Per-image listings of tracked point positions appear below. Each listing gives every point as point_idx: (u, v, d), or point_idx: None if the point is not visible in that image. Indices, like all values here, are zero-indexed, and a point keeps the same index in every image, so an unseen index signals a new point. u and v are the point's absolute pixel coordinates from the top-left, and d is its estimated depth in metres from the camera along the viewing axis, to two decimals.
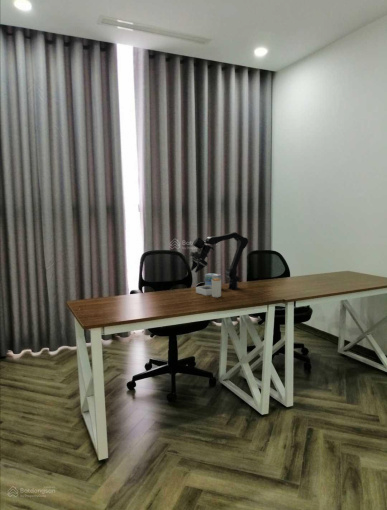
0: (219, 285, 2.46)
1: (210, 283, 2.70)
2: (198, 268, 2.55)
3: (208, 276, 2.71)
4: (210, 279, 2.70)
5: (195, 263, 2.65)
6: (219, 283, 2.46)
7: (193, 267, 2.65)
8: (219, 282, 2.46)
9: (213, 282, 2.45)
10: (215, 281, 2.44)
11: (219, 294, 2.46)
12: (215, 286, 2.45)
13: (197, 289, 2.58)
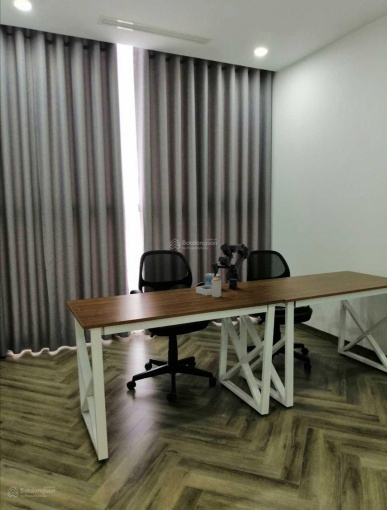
0: (219, 285, 2.46)
1: (210, 283, 2.70)
2: (229, 273, 2.50)
3: (208, 276, 2.71)
4: (210, 279, 2.70)
5: (216, 269, 2.57)
6: (219, 283, 2.46)
7: (215, 273, 2.55)
8: (219, 282, 2.45)
9: (213, 282, 2.45)
10: (215, 281, 2.44)
11: (219, 294, 2.46)
12: (215, 286, 2.45)
13: (197, 289, 2.58)
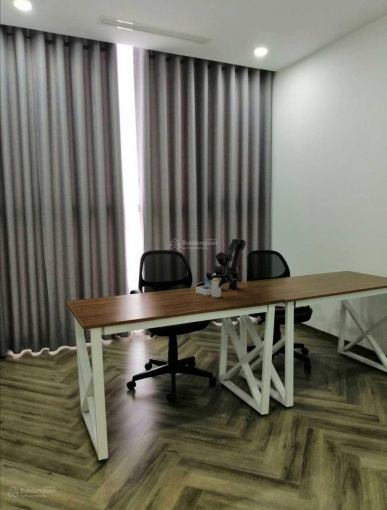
0: None
1: (210, 283, 2.70)
2: (221, 283, 2.46)
3: None
4: None
5: None
6: None
7: None
8: (219, 282, 2.45)
9: (213, 282, 2.45)
10: (215, 281, 2.44)
11: (219, 294, 2.46)
12: (215, 286, 2.45)
13: (197, 289, 2.58)
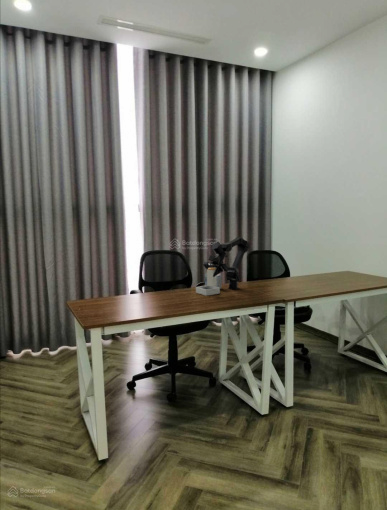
0: None
1: None
2: (216, 272, 2.48)
3: None
4: None
5: None
6: None
7: None
8: (214, 271, 2.48)
9: (208, 271, 2.48)
10: (210, 270, 2.47)
11: (214, 283, 2.49)
12: (210, 275, 2.48)
13: (197, 289, 2.58)
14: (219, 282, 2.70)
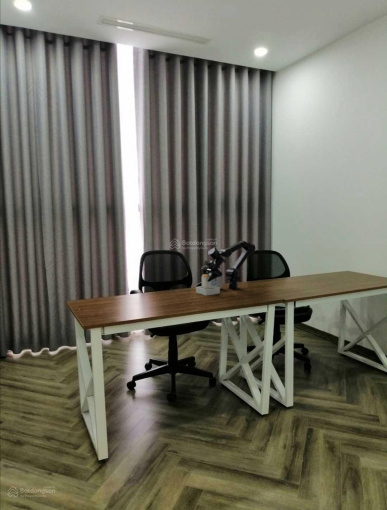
0: None
1: None
2: (211, 278, 2.53)
3: None
4: None
5: (206, 273, 2.61)
6: None
7: None
8: (208, 278, 2.54)
9: (202, 278, 2.56)
10: (203, 277, 2.54)
11: None
12: (204, 282, 2.55)
13: (197, 289, 2.58)
14: (219, 282, 2.70)
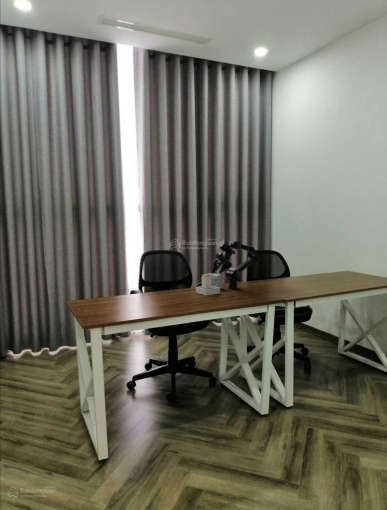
0: (208, 281, 2.55)
1: None
2: (222, 269, 2.57)
3: None
4: None
5: (216, 266, 2.67)
6: (208, 279, 2.55)
7: (214, 270, 2.65)
8: (208, 278, 2.55)
9: (202, 278, 2.56)
10: (204, 277, 2.55)
11: None
12: (204, 282, 2.55)
13: (197, 289, 2.58)
14: (219, 282, 2.70)
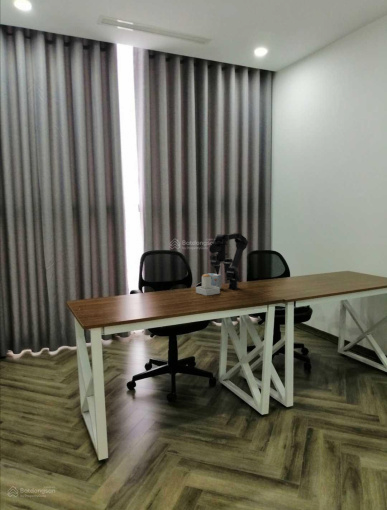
0: (208, 281, 2.55)
1: None
2: (216, 270, 2.56)
3: None
4: None
5: (226, 264, 2.63)
6: (208, 279, 2.55)
7: (225, 269, 2.63)
8: (208, 278, 2.55)
9: (202, 278, 2.56)
10: (204, 277, 2.55)
11: None
12: (204, 282, 2.55)
13: (197, 289, 2.58)
14: (219, 282, 2.70)
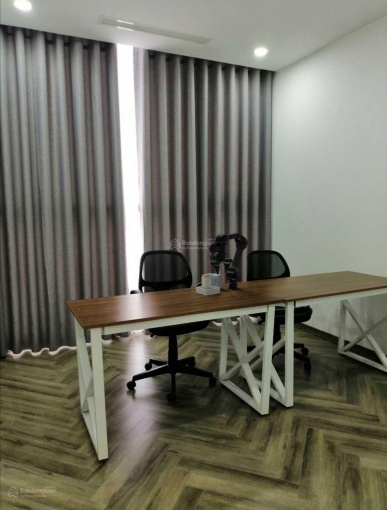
0: (208, 281, 2.55)
1: None
2: (216, 270, 2.56)
3: None
4: None
5: (226, 264, 2.63)
6: (208, 279, 2.55)
7: (225, 269, 2.63)
8: (208, 278, 2.55)
9: (202, 278, 2.56)
10: (204, 277, 2.55)
11: None
12: (204, 282, 2.55)
13: (197, 289, 2.58)
14: (219, 282, 2.70)
